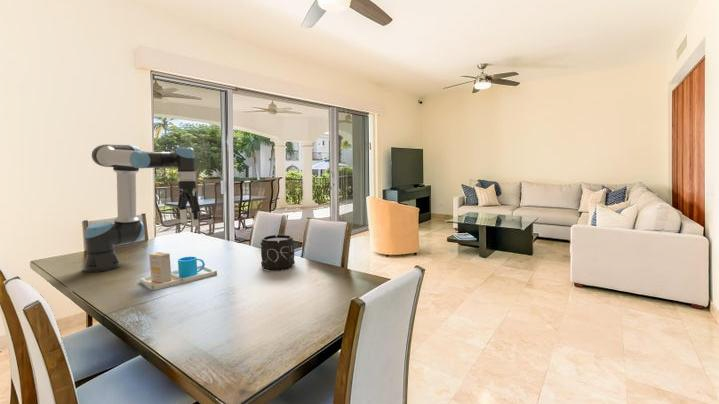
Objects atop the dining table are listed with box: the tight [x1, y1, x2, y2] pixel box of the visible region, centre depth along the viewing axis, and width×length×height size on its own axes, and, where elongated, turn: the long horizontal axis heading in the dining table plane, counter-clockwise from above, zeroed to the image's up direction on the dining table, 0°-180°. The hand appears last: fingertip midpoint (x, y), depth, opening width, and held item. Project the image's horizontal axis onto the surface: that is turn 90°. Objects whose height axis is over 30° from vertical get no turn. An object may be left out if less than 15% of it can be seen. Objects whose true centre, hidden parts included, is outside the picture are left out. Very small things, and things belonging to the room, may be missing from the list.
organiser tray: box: [139, 264, 218, 292], centre depth 168 cm, size 16×29×2 cm, turn 137°
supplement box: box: [148, 251, 172, 283], centre depth 161 cm, size 8×5×13 cm, turn 65°
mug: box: [177, 256, 206, 278], centre depth 171 cm, size 12×8×8 cm
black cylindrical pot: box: [260, 234, 296, 272], centre depth 185 cm, size 18×18×16 cm
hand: (189, 224), depth 169 cm, fingers open, 13 cm apart
